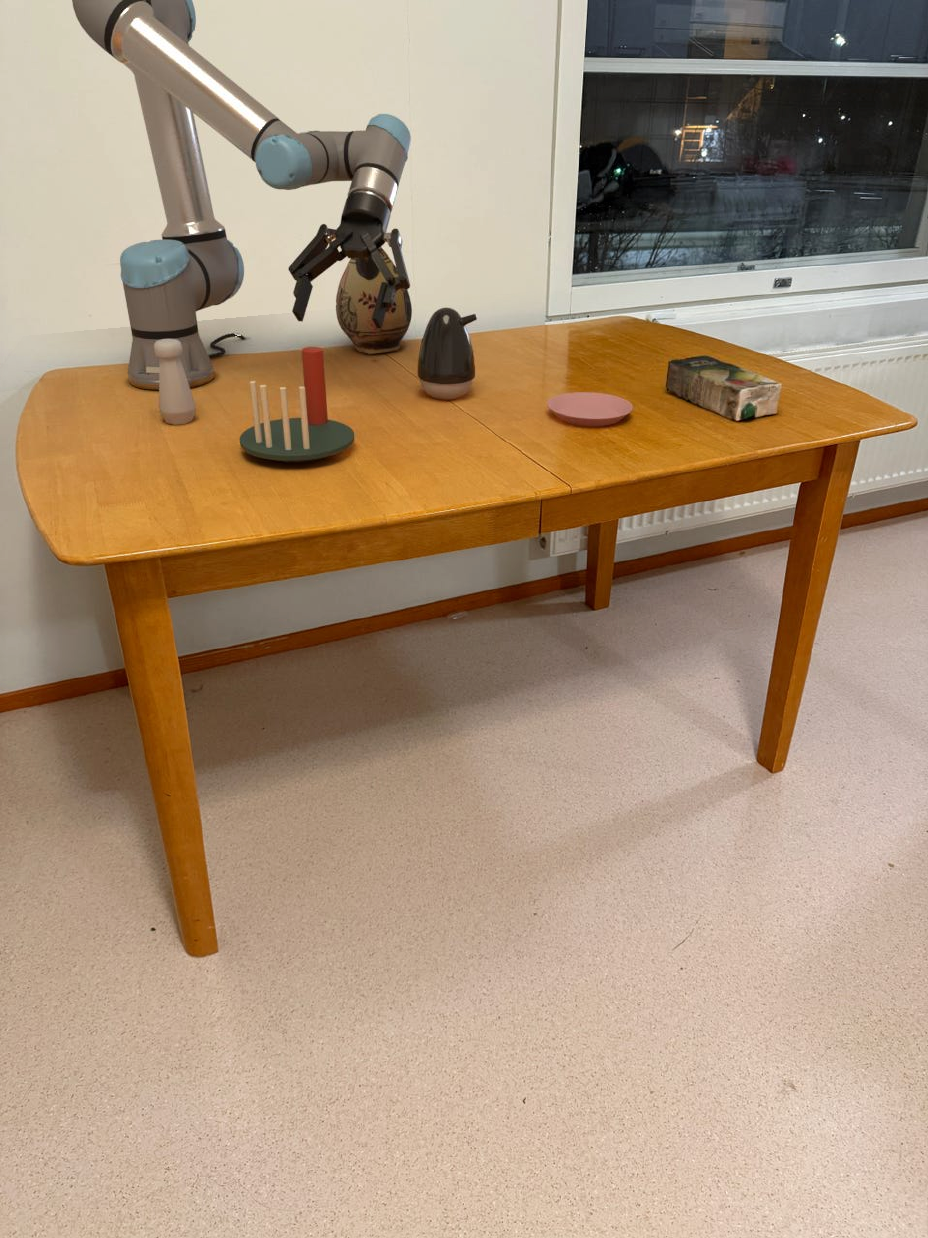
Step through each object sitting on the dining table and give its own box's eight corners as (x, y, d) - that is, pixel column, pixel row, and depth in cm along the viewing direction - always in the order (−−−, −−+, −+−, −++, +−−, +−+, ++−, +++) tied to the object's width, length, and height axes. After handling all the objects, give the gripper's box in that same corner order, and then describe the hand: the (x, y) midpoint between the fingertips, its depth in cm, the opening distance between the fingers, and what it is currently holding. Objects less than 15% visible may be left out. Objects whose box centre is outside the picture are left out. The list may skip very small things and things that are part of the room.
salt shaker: (204, 417, 152) (193, 337, 145) (184, 428, 147) (172, 346, 141) (174, 413, 154) (162, 334, 147) (153, 423, 149) (140, 342, 142)
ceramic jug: (348, 338, 199) (340, 186, 184) (418, 341, 197) (416, 188, 182) (327, 358, 184) (316, 195, 169) (403, 362, 183) (399, 197, 167)
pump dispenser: (469, 406, 159) (471, 315, 151) (411, 401, 160) (409, 312, 153) (480, 389, 167) (482, 303, 160) (425, 385, 169) (424, 299, 161)
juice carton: (783, 415, 156) (790, 379, 153) (740, 424, 152) (745, 387, 149) (703, 386, 171) (708, 352, 168) (662, 393, 167) (665, 359, 164)
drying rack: (324, 471, 129) (318, 382, 123) (218, 457, 134) (207, 369, 127) (372, 433, 143) (368, 351, 137) (275, 421, 148) (267, 341, 141)
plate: (582, 398, 163) (583, 386, 162) (648, 416, 155) (649, 405, 154) (528, 415, 155) (529, 403, 154) (595, 436, 146) (596, 423, 145)
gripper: (446, 225, 150) (416, 339, 145) (307, 217, 156) (274, 326, 152) (436, 193, 143) (404, 312, 138) (291, 185, 149) (255, 299, 145)
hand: (336, 320), depth 145 cm, fingers open, 13 cm apart
